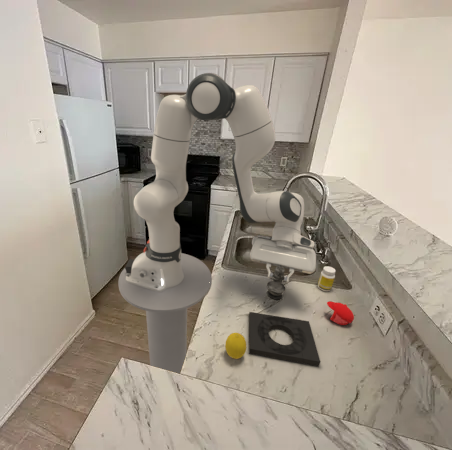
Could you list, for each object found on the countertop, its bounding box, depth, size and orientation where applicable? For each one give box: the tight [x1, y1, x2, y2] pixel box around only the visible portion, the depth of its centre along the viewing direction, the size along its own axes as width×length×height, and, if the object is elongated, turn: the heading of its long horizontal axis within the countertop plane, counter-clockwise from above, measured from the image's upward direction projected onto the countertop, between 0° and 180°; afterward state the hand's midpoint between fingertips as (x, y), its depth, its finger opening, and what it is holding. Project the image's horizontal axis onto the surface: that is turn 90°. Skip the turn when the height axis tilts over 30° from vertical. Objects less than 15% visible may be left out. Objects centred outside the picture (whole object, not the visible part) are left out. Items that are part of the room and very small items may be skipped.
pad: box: [248, 311, 321, 367], centre depth 75 cm, size 18×14×2 cm
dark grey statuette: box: [265, 265, 287, 302], centre depth 82 cm, size 6×6×12 cm
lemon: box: [224, 332, 247, 360], centre depth 68 cm, size 6×6×8 cm
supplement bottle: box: [316, 265, 337, 292], centre depth 94 cm, size 5×5×8 cm
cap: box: [326, 300, 355, 326], centre depth 81 cm, size 8×6×6 cm
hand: (277, 280), depth 81 cm, fingers closed on dark grey statuette, 3 cm apart
